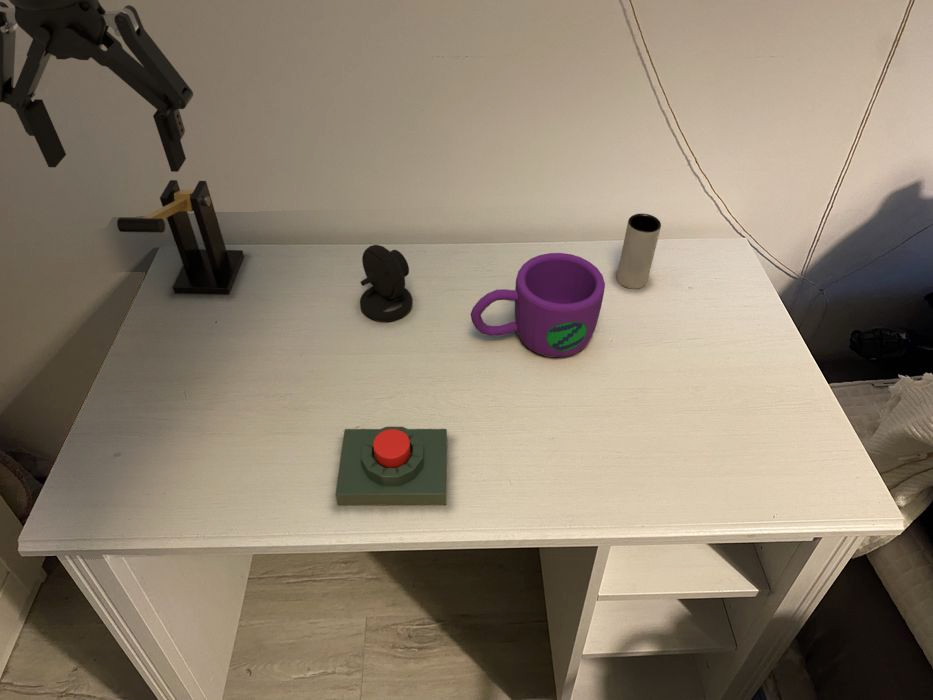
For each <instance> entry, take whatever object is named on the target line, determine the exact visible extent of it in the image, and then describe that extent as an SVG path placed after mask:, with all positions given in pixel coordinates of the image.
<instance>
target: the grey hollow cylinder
mask: <svg viewBox="0 0 933 700" xmlns="http://www.w3.org/2000/svg"><path fill="white" fill-rule="evenodd" d="M626 224H627V225H626V230H625V234H624V239H623V244H622V249H621V254H620V259H619V262H618V269H617V272H616V281H617V282H618V283H619V284H620V285H621V286H622V287H624V288H627V289H633V290H636V289H641V288H644V287H645V286H646V285H647V284H648V280H649V276H650V272H651V269H652V265H653V260H654V257H655V252H656V248H657V245H658V240H659V237H660V232H661V228H662V223H661V220H659V218H657V217H656V216H654V215H653V214H648V213H635V214H633V215H631V216H630V217H629V218H628V220H627V223H626Z"/></svg>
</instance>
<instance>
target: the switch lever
mask: <svg viewBox="0 0 933 700" xmlns="http://www.w3.org/2000/svg"><path fill="white" fill-rule="evenodd" d="M194 190H195V189H180V191H178V192H176V193H174V200H175V201H174V202H172V203H170V204H168V205H166V206H164V207H163V206H162V207H160V208H158V209H156V210H154V211H153V212H150V213H148V214H147V215H145V216H143V217H122V216H121V217H118V219H117V221H116V226H117V230H118V231H119V232H121V233H151V234H152V233H156V234H163V233H164V232H165V230H166V222H165V219H166V220H167V217H169V216H171V215H173V214H174V213H176V212H178V211H187V213H188V212H190V213H191V212H194V211H193V208H192V205H191V202H190V197H191V195H192V193H193V191H194Z"/></svg>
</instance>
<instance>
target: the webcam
mask: <svg viewBox="0 0 933 700" xmlns="http://www.w3.org/2000/svg"><path fill="white" fill-rule="evenodd" d="M361 263H362V267H363V271H364V274H365V275H366V277H365V278H363V279H361V281H360V285H361V286H362V287H364V286H366V285H369V284H370V285H371V286H370V287H368V289H366V290H365V291H364V292H363V293H362V294H361V296H360V299H359V300H360V301H359V306H360V310H361V313H362V314H364V315H365V316H366V317H367V318H369V319H371V320H373V321H376V322H380V323H381V322H382V323H383V322H384V323H387V322H394V321H398V320H401V319H402V318H404V317H406V315H408V314H409V312H410V311H411V309H412V307H413V296H412V294H411V292H410V291H409V290H408V289H407V288H406V279H405V278H406V277H407V276H409V274H410V267H409V264H408V261H407V259H406V257H405V256H404V255H403V254H402V252H400V251H399V250H398V249H392V250H389V249H387V248H386V247H385V246H383V245H381V244H380V245H379V244H372V245H369V246H367V248H366V249H365V250H364V251H363V253H362V256H361ZM397 300H402V303H401V305H399V307H397V308H395V309H392V310H387V311H386V310H385V311H384V309H385V308H386V307H387V306H389V305H390V304H391V303H393V302H395V301H397Z"/></svg>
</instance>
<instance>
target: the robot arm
mask: <svg viewBox="0 0 933 700" xmlns="http://www.w3.org/2000/svg"><path fill="white" fill-rule="evenodd" d="M8 1H9V2H10V4H12V6H14V8H12V7H9V6H8V4H7V3H5V2H3V1H0V104H1V103H3V104H6V105H9V106H10V107H11V108H12V109H13V110H15V112H16V114H17V116H18V118H19V120H20V122H21V125H22V127H23V129H24V131H25V133H26V134H27V135H28V136H29V137H34V139H35V141H36V143H37V146H38V148H39V150H40V152H41V154H42V156H43V158H44V161H45V162H46V165H47V167H48V168H56V167H58V165H59V164H60V163H61V162H62V160H63V159H64V158H65V157H66V155H67V153H66V151H65V149H64V146H63V144H62V142H61V139H60V137H59V135H58V132H57V130H56V128H55V126H54V124H53V121H52V119H51V117H50V114H49V111H48V109H47V107H46V105H45V103H44V101H43V99H42V98H41V99H40V98H39V99H36V98H35V99H34V100H32V99H33V97H35V95H36V93H35V92H36V91H37V88H38V85H39V83H40V81H41V80H42V76H43V74H44V72H45V70H46V67H47V65H48V62H49V61H50V59H51V56H53V57H55V59H56V60H67V59H75V60H78V61H89V60H90V59H92V60H93V61H95V62H96V63H97V64H98V65H99V66H101V67H106V68H108V69H109V70H110V71H111V72H112V73H113V74H115V75H116V76H117V77H118V78H119V79H121V80H122V81H123V82H124V83H125V84H127V86H129V87H130V88H131V89H132V90H134V91H135V92H136V93H137V94H138V95H140V96H141V97H142V98H143V99H144V100H145V101H146V102H148V103H149V104H150V105H151V106H152V107H153V108H155V109H156V111H155V112H154V114H153V115H152V118H153V120H154V124H155V127H156V129H157V132H158V135H159V138H160V141H161V145H162V148H163V151H164V153H165V157H166V160H167V163H168V165H169V170H170V172H173V173H178V172H179V171H180V169H181V168H182V166H183V164H184V163H185V161H187V157H186V154H185V151H184V148H183V144H182V141H181V140H182V139H183V137H184V136H185V132H186V128H185V125H184V122H183V119H182V115H181V112H180V110H184V109H185V108H186V107H187V106H188V105H189V103H190V102H191V100H192V99H193V97H194V92H193V90H192V89H191V87H190V86H189V85H188V84H187V82H186V81H185V80H184V78H183V77H182V76H181V75H180V73H179V72H178V70H177V69H176V68H175V67H174V65H173V64H172V63H171V62H170V60H169V59H168V58H167V56H166V55H165V54H164V53H163V51H162V50H161V49H160V47H159V46H158V45H157V43H156V42H155V41H154V40H153V39H152V37H151V36H150V34H149V33H148V32H147V30H146V29H145V27H144V25H143V23H142V20H141V18H140V16H139V12H138V11H137V9H136V8H135V6H132V5H130V4H128V5H125V6H124V7H123V8H122V9H120V10H119V9H118V10H108V11H106V10H105V8H104V7H103V6H102V4H101V3H100V0H8ZM18 27H20V29H21V30H22V31H24V32H25V33H26V34H27V35H28V36H29V37H30V38H31V39H32V41H31V43H30V45H29V48H28V50H27V53H26V59H25V62H24V64H23V66H22V68H21V71H20V73H19V76H18V79H17V81H16V83H15V84H14V79H15V60H16V59H15V58H16V39H17V38H16V36H17V33H16V31H17V29H18ZM109 27H110V28H112V29H113V30H114V34H115V35H116V36H117V37H121V38H122V40H123V42H124V44H125V45H126V46H127V49H129V51H130V52H131V53H132V54H133V56H134V57H135V58H136V59H135V58H134V57H133V56H132V55H131V54H130V53H129V52H127V50H125V49H124V48H123V45H122V43H121V42H120V41H119V40H118V39H117V38H116V37H115V36H114V35H113V34H112V33H110V32H109ZM103 46H104V47H105V48H106V50H104V49H102V47H103Z"/></svg>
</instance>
